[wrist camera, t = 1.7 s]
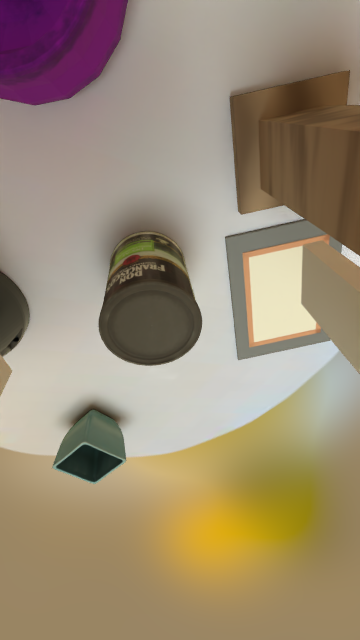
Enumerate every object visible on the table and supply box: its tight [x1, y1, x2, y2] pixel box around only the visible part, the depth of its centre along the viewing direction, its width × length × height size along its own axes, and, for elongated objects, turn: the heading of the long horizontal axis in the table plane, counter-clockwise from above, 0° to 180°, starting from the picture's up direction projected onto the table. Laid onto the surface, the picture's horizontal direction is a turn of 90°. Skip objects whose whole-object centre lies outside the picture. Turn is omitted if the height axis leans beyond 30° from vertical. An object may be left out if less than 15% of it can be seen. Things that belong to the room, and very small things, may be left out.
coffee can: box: [99, 232, 202, 366], centre depth 37 cm, size 10×10×14 cm
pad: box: [225, 219, 342, 360], centre depth 47 cm, size 16×22×1 cm
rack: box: [230, 70, 360, 256], centre depth 25 cm, size 12×12×28 cm
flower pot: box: [53, 410, 126, 484], centre depth 55 cm, size 9×9×9 cm
